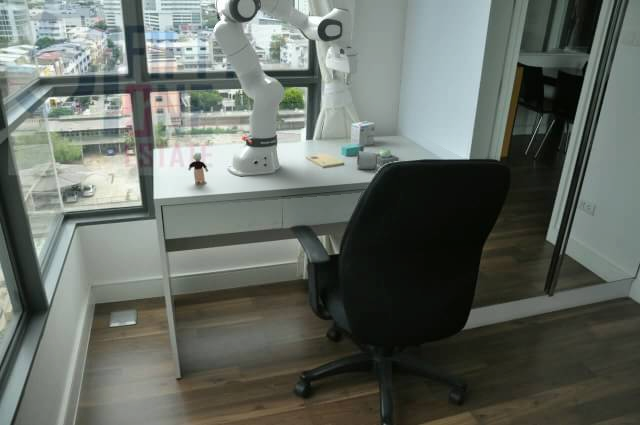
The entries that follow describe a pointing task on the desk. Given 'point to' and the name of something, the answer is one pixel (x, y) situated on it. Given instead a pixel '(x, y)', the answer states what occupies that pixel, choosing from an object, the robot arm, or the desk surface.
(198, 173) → the grandmother figurine
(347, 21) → the robot arm
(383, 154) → the button
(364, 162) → the ceramic mug
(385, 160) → the button housing
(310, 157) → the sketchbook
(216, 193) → the desk surface
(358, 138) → the light bulb box
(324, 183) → the desk surface
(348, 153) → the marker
